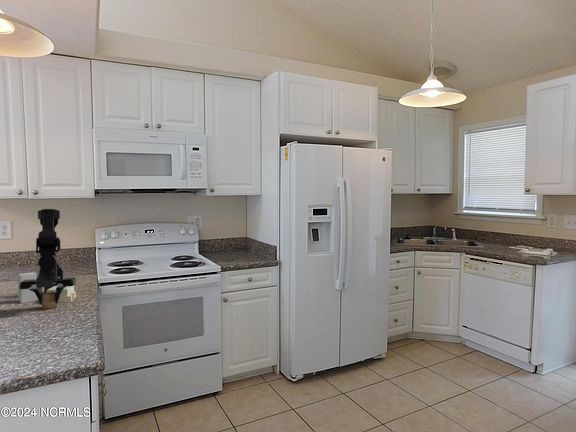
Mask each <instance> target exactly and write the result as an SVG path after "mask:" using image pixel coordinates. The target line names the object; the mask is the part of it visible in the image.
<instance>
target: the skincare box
mask: <svg viewBox="0 0 576 432" xmlns="http://www.w3.org/2000/svg"><path fill="white" fill-rule="evenodd" d="M36 278H37V273H36V272H34V271H32V272H26V273H19V274H17V289H18V292H17V294H18V295H17V297H18V302H19V303H21V304H24V303H30V302H34V301H35V302H36V301H38V298H37V296H36V294H35V293H34V292H33V291H30V290H29V289H30V288H29V289H20V283H21V282H22V281H24V280H30V279H35V281H36Z"/></svg>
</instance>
